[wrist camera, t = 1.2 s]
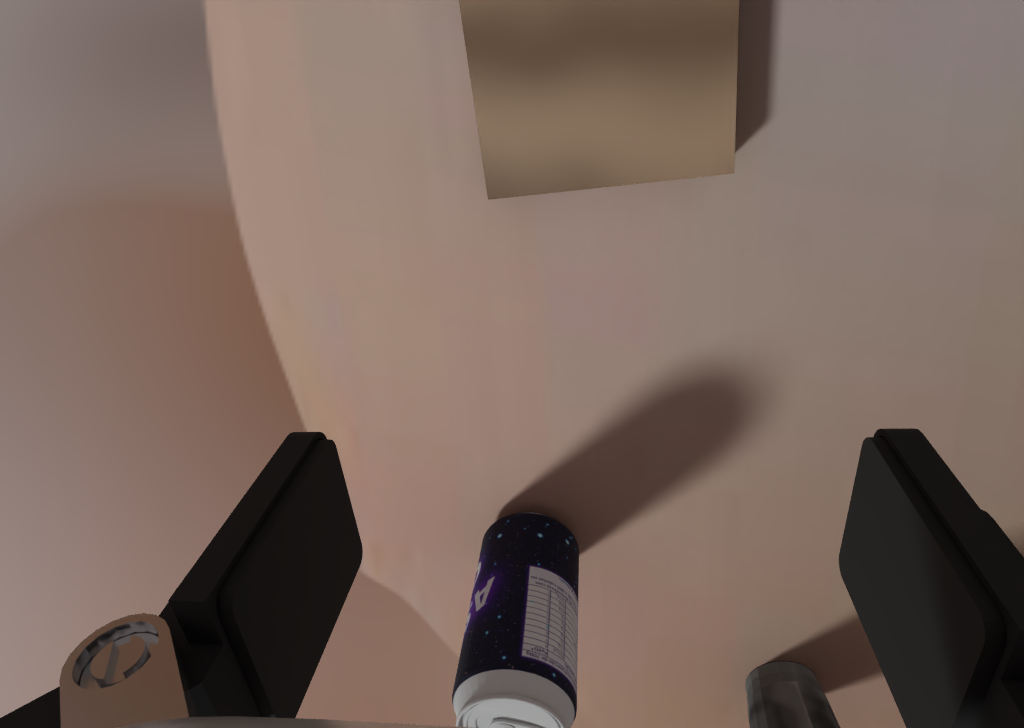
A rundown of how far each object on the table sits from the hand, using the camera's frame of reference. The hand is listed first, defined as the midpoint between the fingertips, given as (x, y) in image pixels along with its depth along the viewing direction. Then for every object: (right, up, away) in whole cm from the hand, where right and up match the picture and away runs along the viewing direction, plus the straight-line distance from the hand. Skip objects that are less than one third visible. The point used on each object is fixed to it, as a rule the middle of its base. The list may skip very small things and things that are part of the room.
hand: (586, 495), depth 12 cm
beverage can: (0, -8, +27) cm, 28 cm away
